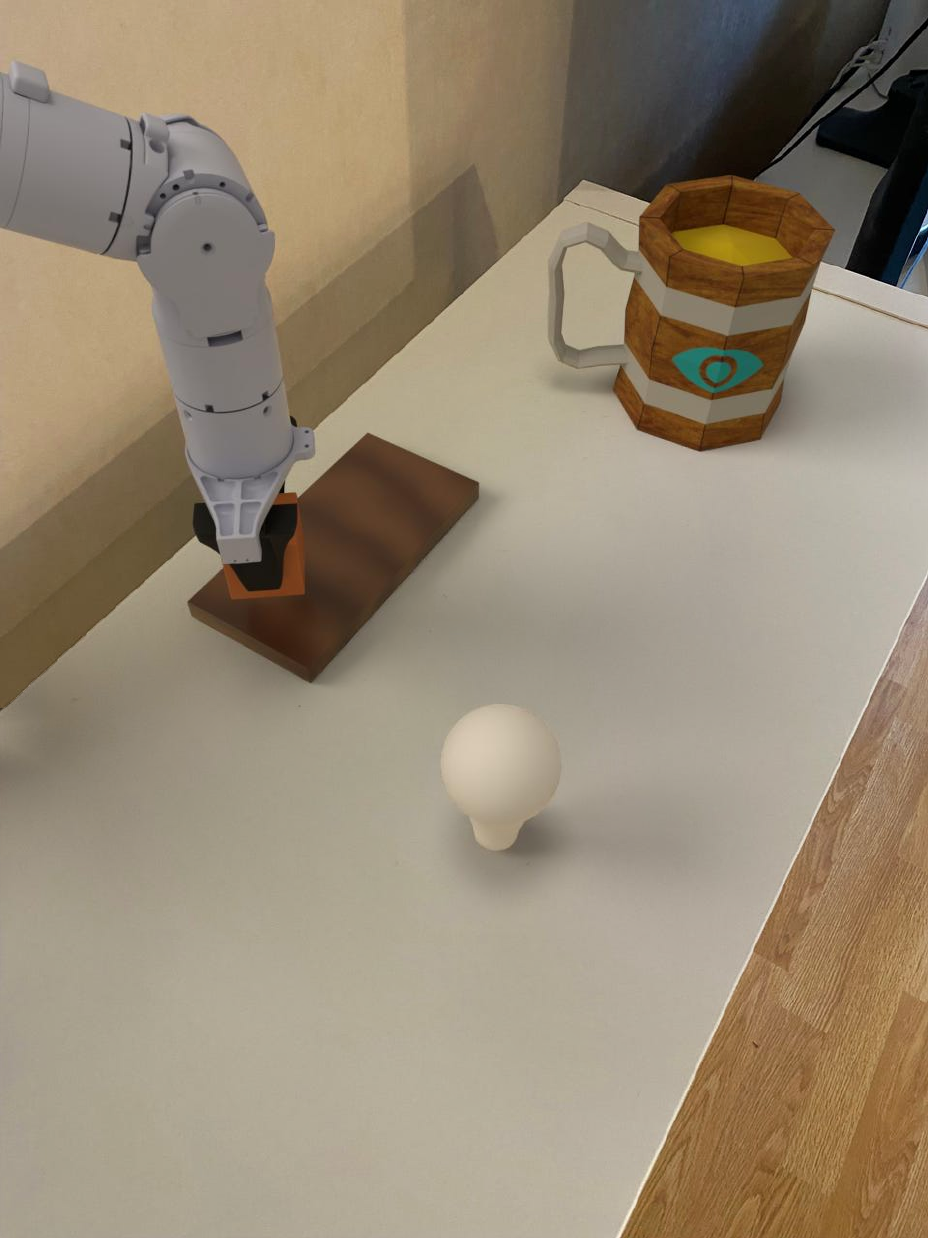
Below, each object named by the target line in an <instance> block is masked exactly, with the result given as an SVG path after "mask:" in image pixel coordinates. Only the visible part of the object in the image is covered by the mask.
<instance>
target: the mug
mask: <svg viewBox="0 0 928 1238" xmlns="http://www.w3.org/2000/svg"><path fill="white" fill-rule="evenodd" d="M638 217H639V218H638V250H630V249H627V248H625V247H624V246H623V245H621V243H620V242H619V241H618V240H617V239H616V238H615V236H614V235H613V234H612V233H611V232H610V231H609V230H608V229H606V228H604V227H600V226H599V225H596V224H594V223H591V222H589V221H586V222H583V223H582V222H581V223H580V224H576V225H573V226H570V227H567V228H564V229H562V230H561V232H560V234H559V235H558V238H557V241H556V243H555V245H554V247H553V249H552V251H551V253H550V255H549V258H548V260H547V264H548V265H547V269H548V271H547V272H548V273H547V274H548V291H549V292H548V301H547V302H548V303H547V339H548V343H549V345H550V347H551V349H552V351H553V353H554V356H555V358H556V360H557V362H560V363H562V364H564V365H566V366H568V367H571V368H574V369H575V370H580V369H589V368H595V367H605V366H607V367H609V366H619V367H618V370H617V374H616V378H615V381H614V384H613V387H612V390H613V392H614V394H615V396H616V397H617V399H618V400H619V402H620V403H621V405H622V408H623V409H624V411H625V412H626V414H627V415H628V417H629V419H630V420H631V422H632V424H633V425H634V427H635V428H636V430H637V431H640V432H642V433H645V434H649V435H651V436H655V437H657V438H660V439H663V440H666V441H669V442H671V443H674V444H677V445H680V446H683V447H685V448H689V449H691V450H694V451H698V452H705V451H710V450H713V449H718V448H723V447H724V448H725V447H729V446H734V445H739V444H743V443H749V442H754V441H760V440H761V439H762V437H763V435H764V434H765V431H766V430H767V428H768V426H769V425H770V423H771V420H772V418H773V417H774V415H775V413H776V412H777V409H778V408H779V406H780V404H781V402H782V396H783V389H784V383H785V377H786V373H787V371H788V368H789V365H790V362H791V359H792V356H793V352H794V350H795V348H796V345H797V343H798V341H799V338H800V336H801V333H802V331H803V328H804V327H805V324H806V320H807V315H808V310H809V305H810V301H811V296H812V291H813V287H814V284H815V281H816V278H817V274H818V273H819V268H820V265H821V263H822V261H823V258H824V255H825V253H826V251H827V250H828V247H829V244H830V243H831V241H832V238H833V236H834V233H835V231H836V228H834V227H833V226H832V225H831V223H829V222H828V220H827V219H825V218H824V216H822V215H821V213H819V211H817V210H816V208H815V207H813V206H812V204H811V203H810V202H809V201H808V200H807V199H806V198H805V197H804V196H803V195H802V194H801V193H800V192H797V191H795V190H794V191H793V190H790V189H785V188H782V187H779V186H774V185H771V184H766V183H763V182H759V181H756V180H752V179H748V178H744V177H740V176H736V175H733V174H729V175H722V176H715V177H706V178H701V179H693V180H687V181H686V180H685V181H681V182H672V183H666V184H665V185H664V187H663V188H662V189H661V190H660V191H659V193H658V194H657V195H656V196H655V197H654V198H653V200H652V201H651V202H650V204H649V205H648V206H647V207H646V208H645V209H644V211H642V213H641V214H640V215H639V216H638ZM584 243H585V244H588V245H590V246H592V247H594V248H596V249H598V250H600V251H601V252H602V253H603V255H604V256H605V257H606V258H607V260H608V261H609V262H610V263H611V264H612V265H613V266H615V267H616V268H617V269H618V270H620V271H622V272H628V273H634V275H633V280H632V282H631V287H630V290H629V294H628V298H627V302H626V305H625V309H624V337H623V343H621V344H609V345H608V344H607V345H596V346H592V347H587V348H583V349H578V348H575V347H574V346H571V345H569V344H566V341H565V339H564V336H563V334H562V329H563V317H564V316H563V315H564V303H565V293H566V292H565V284H564V272H563V264H564V259H565V256H566V254H567V250H568V248H572V247H575V246H578V245H581V244H584Z"/></svg>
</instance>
